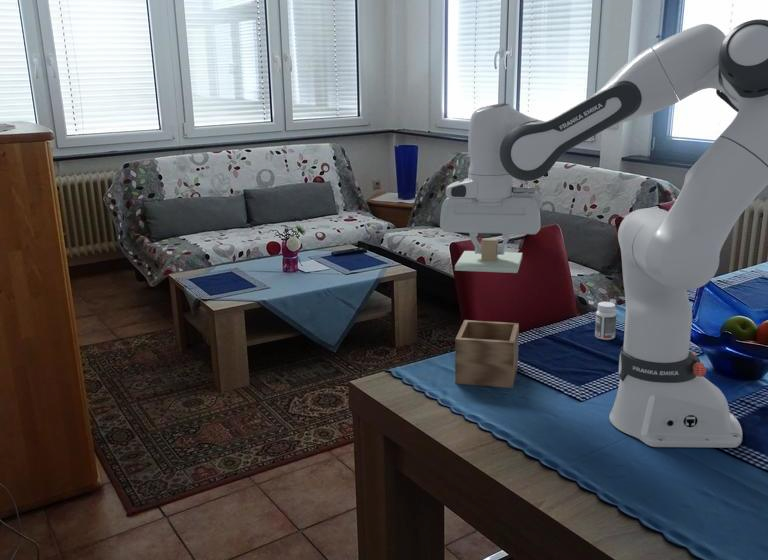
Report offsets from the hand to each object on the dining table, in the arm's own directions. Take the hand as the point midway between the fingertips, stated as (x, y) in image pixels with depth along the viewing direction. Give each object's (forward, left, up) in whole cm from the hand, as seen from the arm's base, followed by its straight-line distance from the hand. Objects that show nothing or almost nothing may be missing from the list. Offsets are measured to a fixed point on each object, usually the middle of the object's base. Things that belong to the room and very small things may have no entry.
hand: (489, 253), depth 150 cm
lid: (0, 0, -2) cm, 2 cm away
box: (0, 0, -27) cm, 27 cm away
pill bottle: (-25, -28, -27) cm, 46 cm away
